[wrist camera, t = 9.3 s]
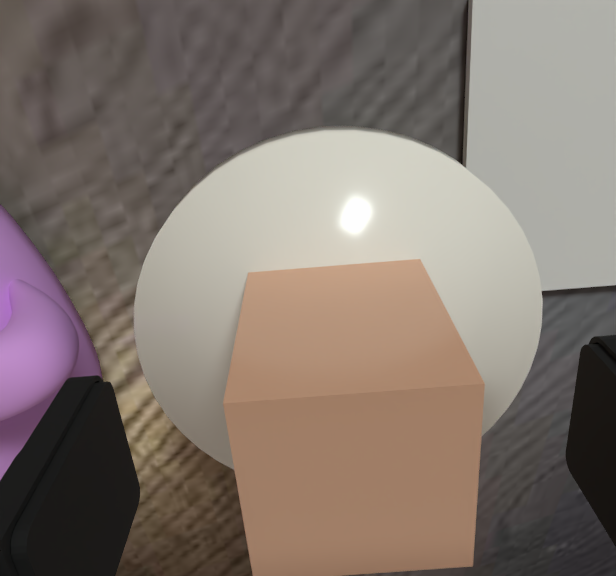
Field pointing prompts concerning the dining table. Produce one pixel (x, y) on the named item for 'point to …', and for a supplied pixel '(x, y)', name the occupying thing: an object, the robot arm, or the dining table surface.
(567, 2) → the mat
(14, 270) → the teapot
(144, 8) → the dining table surface
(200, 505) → the dining table surface
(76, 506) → the robot arm
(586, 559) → the dining table surface
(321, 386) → the lid
